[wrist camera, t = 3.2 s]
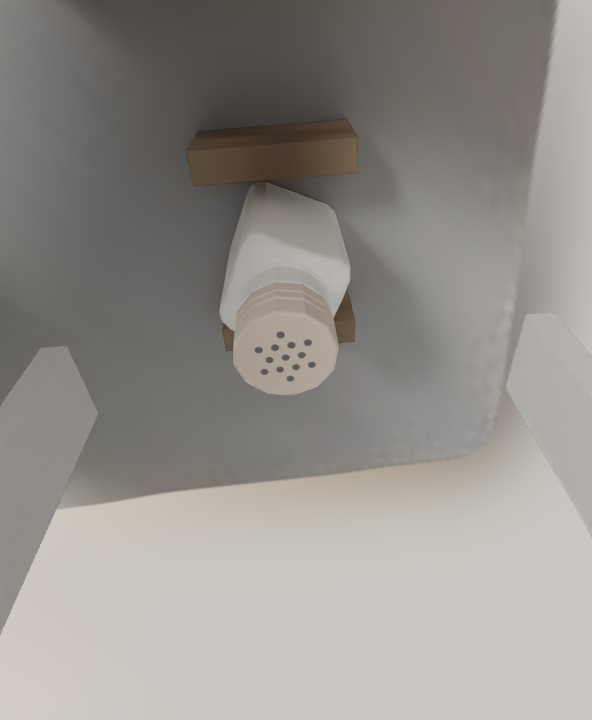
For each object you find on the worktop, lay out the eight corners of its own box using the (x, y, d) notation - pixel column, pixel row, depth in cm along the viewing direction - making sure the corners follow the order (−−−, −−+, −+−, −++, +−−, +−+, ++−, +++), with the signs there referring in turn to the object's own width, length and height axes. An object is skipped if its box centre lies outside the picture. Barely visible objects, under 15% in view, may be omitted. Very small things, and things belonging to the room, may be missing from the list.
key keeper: (231, 316, 24) (226, 351, 22) (197, 131, 18) (186, 150, 16) (346, 307, 24) (354, 341, 21) (346, 119, 18) (357, 137, 16)
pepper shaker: (338, 204, 21) (376, 323, 13) (305, 279, 23) (321, 417, 15) (253, 172, 20) (240, 280, 12) (227, 254, 22) (203, 388, 14)
